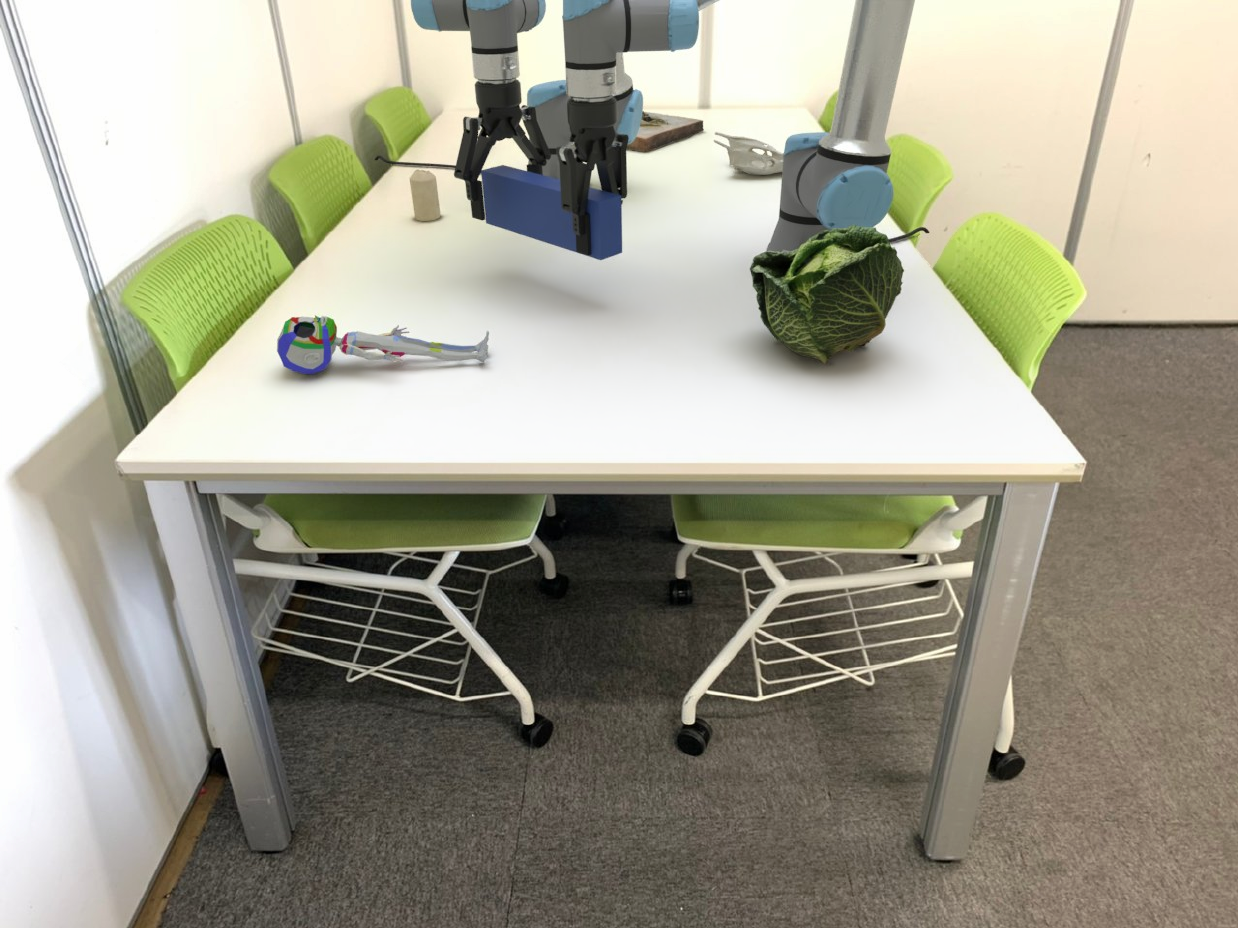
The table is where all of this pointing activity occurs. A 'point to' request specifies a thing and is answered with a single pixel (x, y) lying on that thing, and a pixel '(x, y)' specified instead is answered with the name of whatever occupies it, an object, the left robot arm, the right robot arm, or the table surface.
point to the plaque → (663, 130)
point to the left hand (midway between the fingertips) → (507, 210)
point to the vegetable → (828, 290)
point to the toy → (358, 345)
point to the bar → (549, 210)
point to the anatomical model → (752, 156)
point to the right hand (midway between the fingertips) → (596, 248)
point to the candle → (425, 195)
